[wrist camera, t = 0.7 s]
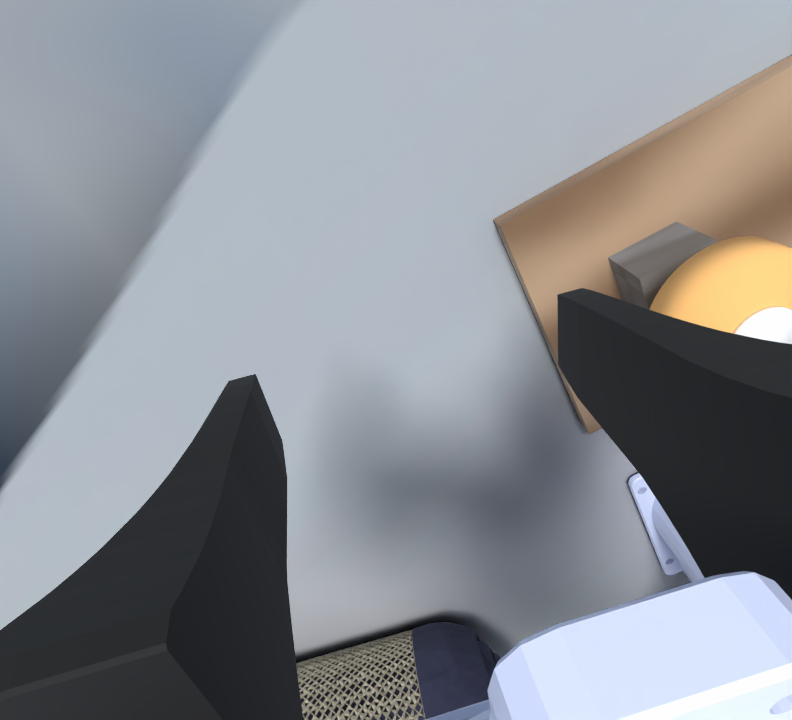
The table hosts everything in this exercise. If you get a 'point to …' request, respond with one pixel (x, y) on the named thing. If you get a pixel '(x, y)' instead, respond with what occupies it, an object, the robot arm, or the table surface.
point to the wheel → (734, 289)
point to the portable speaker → (399, 676)
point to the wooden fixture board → (659, 204)
